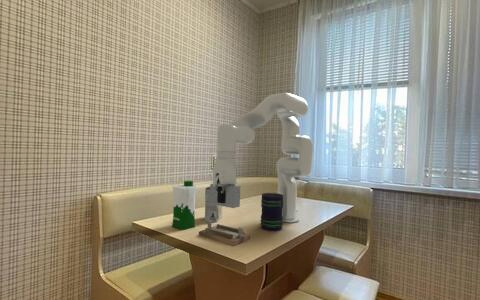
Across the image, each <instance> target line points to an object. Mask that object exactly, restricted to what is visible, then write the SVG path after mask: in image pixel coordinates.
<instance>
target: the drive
mask: <svg viewBox="0 0 480 300" xmlns="http://www.w3.org/2000/svg"><path fill="white" fill-rule="evenodd" d="M220 185H221V184H220ZM209 187H210V204H214V205H219V206H222V207H224V208H231V209H236V208H239V207H240V206H241V204H240V203H241V186H240V185H237V184H236V185H225V188H224V193H225V202H224V203H223V204H222V203H218V202H217V195H218V193H217V190H216V189H215V188H214V187H213V183H210V184H209ZM220 187H221V188H222V186H220Z"/></svg>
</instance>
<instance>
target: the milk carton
mask: <svg viewBox="0 0 480 300" xmlns="http://www.w3.org/2000/svg"><path fill="white" fill-rule="evenodd" d="M197 188H198V186H197V185H194V181H193V180H184V181H183V184H179V185H174V186H172V192H173V211H172V212H173V216H172V228H175V229H178V230H181V231H184V230H187V229H192V228H195V227H196V219H195V217H196V216H195V214H196V213H195V211H196V209H195V207H196V193H197Z"/></svg>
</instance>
